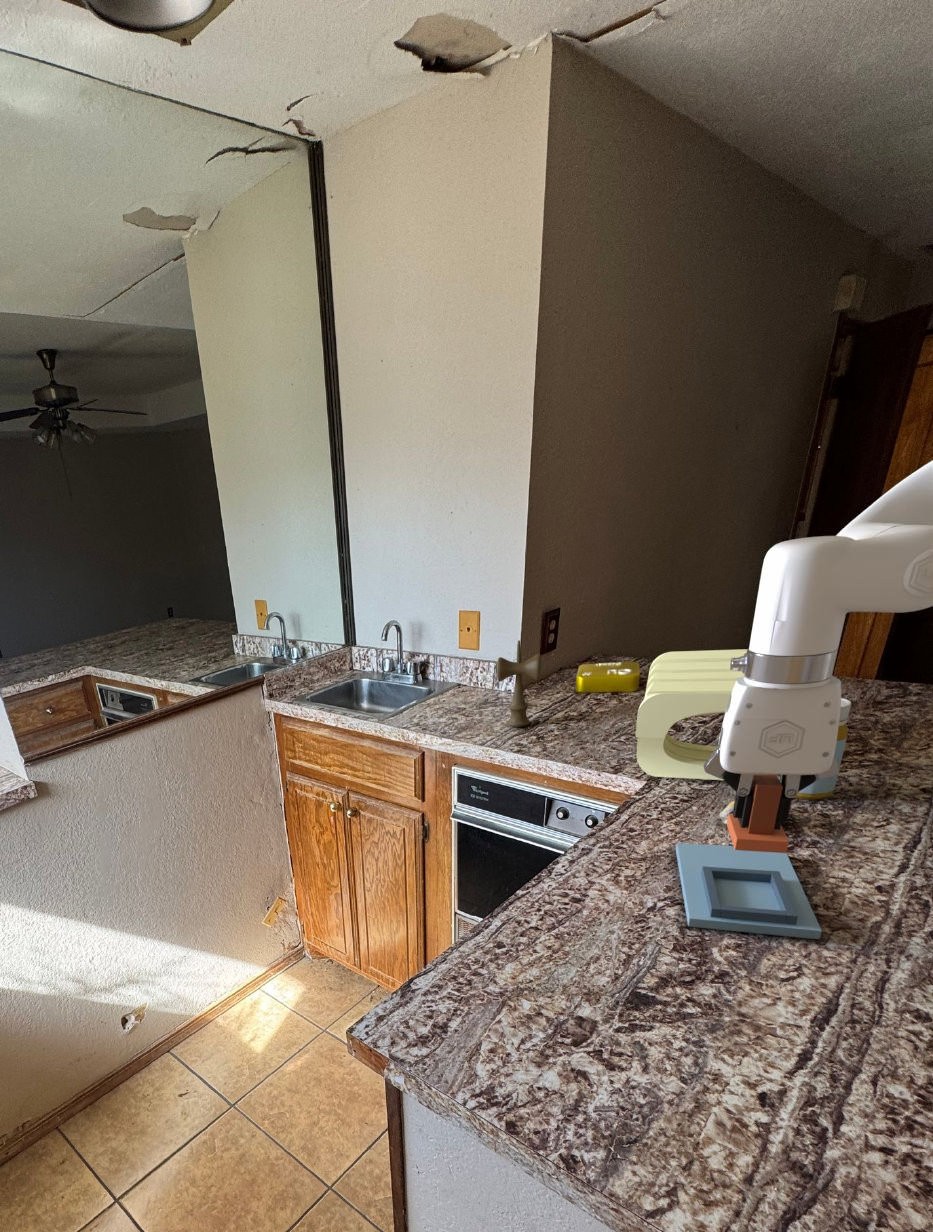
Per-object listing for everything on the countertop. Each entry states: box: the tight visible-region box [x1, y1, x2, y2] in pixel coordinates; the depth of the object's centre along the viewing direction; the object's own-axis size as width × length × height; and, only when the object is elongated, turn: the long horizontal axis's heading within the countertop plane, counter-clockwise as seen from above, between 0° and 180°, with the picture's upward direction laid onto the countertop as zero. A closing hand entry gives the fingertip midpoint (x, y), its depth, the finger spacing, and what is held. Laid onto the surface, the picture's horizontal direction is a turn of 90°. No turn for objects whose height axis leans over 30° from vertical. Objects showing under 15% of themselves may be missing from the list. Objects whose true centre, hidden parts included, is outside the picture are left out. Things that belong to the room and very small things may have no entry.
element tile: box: [575, 661, 641, 694], centre depth 173 cm, size 15×15×5 cm
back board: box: [675, 842, 823, 940], centre depth 84 cm, size 13×20×2 cm, turn 157°
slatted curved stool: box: [635, 648, 748, 781], centre depth 117 cm, size 30×16×18 cm, turn 151°
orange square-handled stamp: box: [726, 774, 790, 854], centre depth 75 cm, size 5×7×8 cm
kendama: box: [496, 639, 542, 728], centre depth 150 cm, size 6×10×20 cm, turn 71°
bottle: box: [793, 697, 852, 801], centre depth 102 cm, size 7×7×15 cm
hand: (758, 822), depth 76 cm, fingers closed on orange square-handled stamp, 2 cm apart
